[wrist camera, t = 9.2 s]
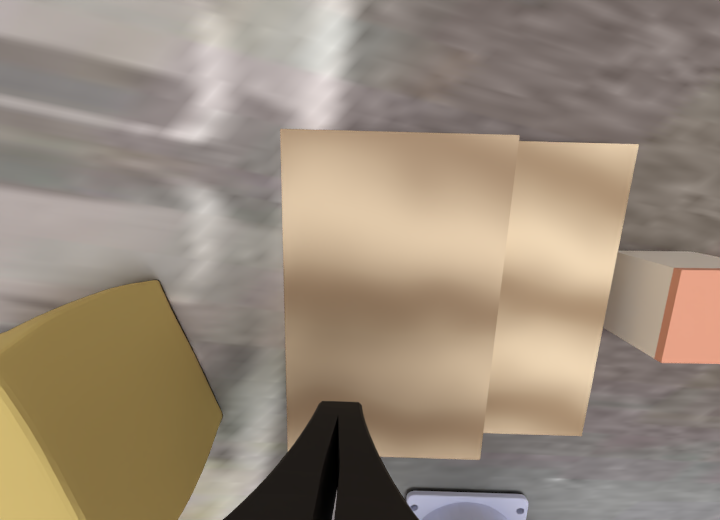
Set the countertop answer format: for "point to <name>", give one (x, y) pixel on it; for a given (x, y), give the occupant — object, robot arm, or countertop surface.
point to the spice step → (447, 281)
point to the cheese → (102, 411)
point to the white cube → (667, 305)
